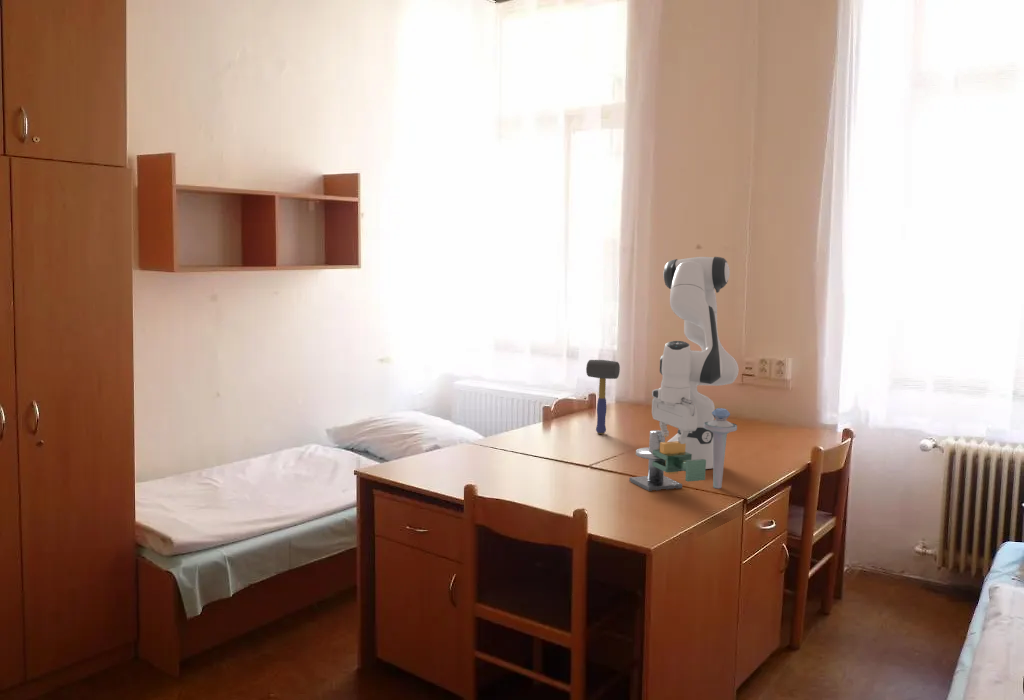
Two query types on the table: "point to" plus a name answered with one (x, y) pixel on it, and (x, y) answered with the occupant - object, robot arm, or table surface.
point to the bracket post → (666, 466)
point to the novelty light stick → (719, 441)
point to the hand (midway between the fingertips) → (673, 439)
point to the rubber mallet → (602, 386)
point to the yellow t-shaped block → (671, 449)
